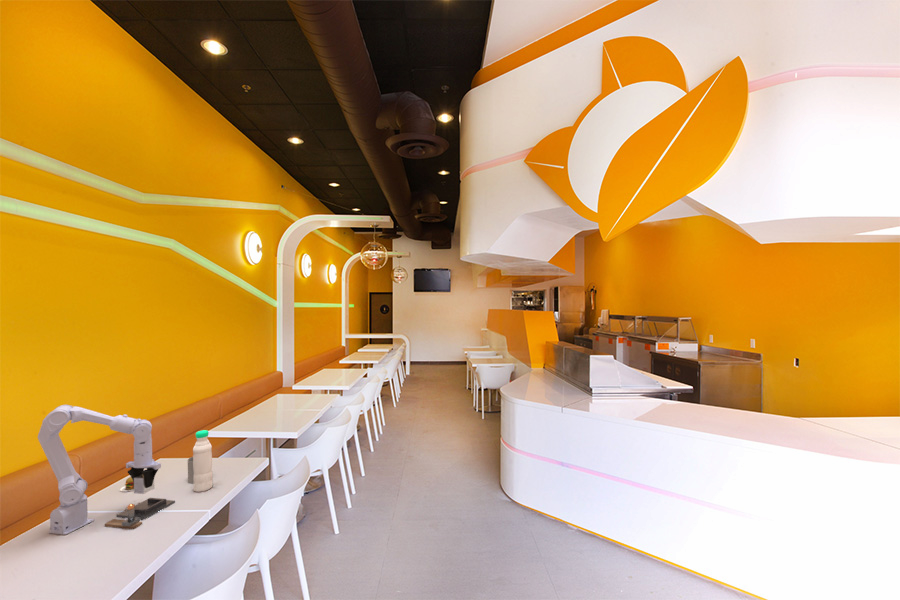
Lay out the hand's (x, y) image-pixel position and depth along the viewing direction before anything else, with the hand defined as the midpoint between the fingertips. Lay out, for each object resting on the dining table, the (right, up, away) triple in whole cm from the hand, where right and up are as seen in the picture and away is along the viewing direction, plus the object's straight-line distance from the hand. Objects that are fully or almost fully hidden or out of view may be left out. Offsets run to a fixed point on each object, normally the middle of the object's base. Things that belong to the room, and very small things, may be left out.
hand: (143, 486), depth 156 cm
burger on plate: (-20, -11, +19) cm, 30 cm away
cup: (+6, -9, +26) cm, 28 cm away
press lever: (+6, -7, -13) cm, 16 cm away
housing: (0, -2, 0) cm, 2 cm away
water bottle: (+14, -9, +16) cm, 23 cm away
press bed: (+2, -9, -1) cm, 9 cm away
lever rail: (+2, -8, -12) cm, 15 cm away
